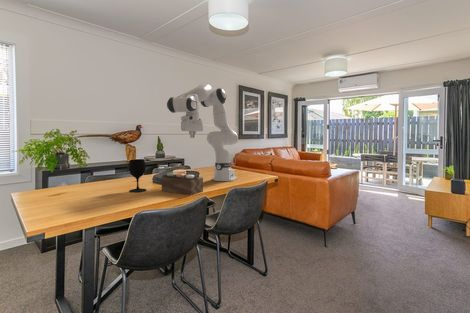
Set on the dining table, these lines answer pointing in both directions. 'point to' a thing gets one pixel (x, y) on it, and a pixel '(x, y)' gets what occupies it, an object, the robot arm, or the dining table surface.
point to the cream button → (190, 176)
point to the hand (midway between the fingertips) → (192, 137)
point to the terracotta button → (179, 175)
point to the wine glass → (137, 172)
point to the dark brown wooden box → (182, 184)
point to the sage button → (170, 174)
